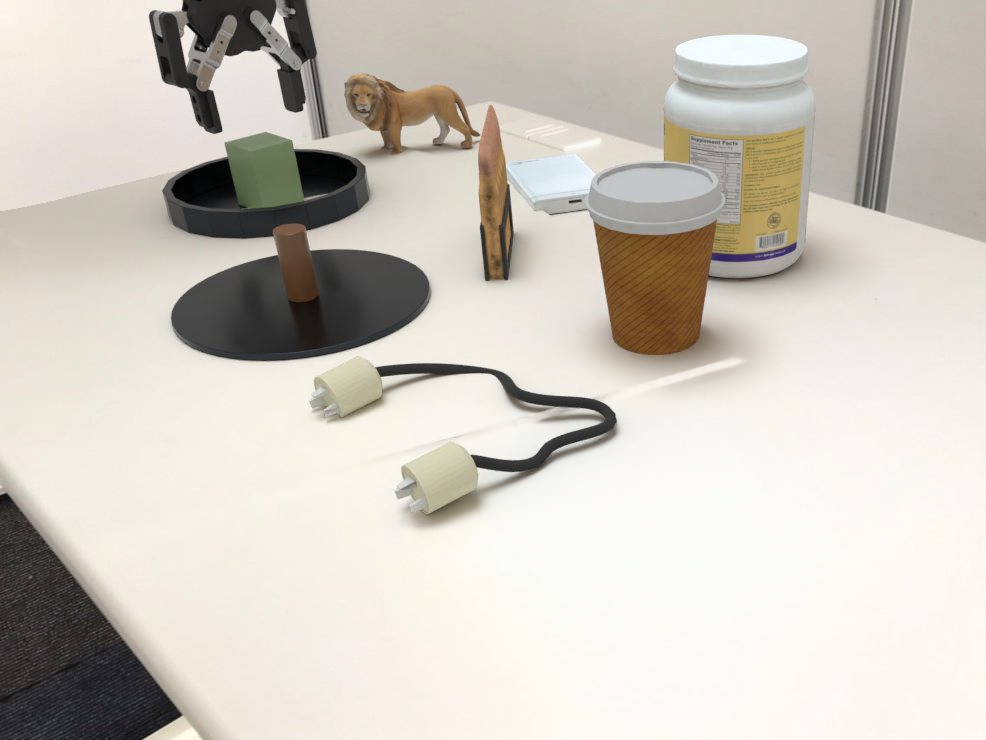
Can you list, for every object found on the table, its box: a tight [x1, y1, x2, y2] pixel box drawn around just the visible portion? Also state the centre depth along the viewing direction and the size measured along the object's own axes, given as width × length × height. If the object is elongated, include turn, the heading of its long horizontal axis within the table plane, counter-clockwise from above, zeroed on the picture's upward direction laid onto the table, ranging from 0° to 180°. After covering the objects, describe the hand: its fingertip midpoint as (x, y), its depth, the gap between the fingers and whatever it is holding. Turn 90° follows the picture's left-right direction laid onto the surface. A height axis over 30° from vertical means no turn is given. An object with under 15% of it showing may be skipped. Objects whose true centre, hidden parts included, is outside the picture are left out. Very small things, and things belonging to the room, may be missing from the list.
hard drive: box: [506, 153, 598, 215], centre depth 104 cm, size 2×8×12 cm
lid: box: [170, 224, 431, 361], centre depth 80 cm, size 20×20×7 cm
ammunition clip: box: [477, 104, 515, 282], centre depth 86 cm, size 11×2×12 cm, turn 3°
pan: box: [161, 148, 370, 240], centre depth 101 cm, size 19×19×3 cm
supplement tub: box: [662, 34, 817, 279], centre depth 85 cm, size 12×12×17 cm
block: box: [224, 131, 305, 209], centre depth 100 cm, size 4×4×6 cm
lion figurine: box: [343, 72, 481, 156], centre depth 114 cm, size 15×5×9 cm, turn 121°
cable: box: [308, 355, 618, 515], centre depth 66 cm, size 16×16×4 cm
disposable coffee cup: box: [585, 160, 725, 356], centre depth 73 cm, size 10×10×12 cm
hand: (255, 121), depth 97 cm, fingers open, 8 cm apart
